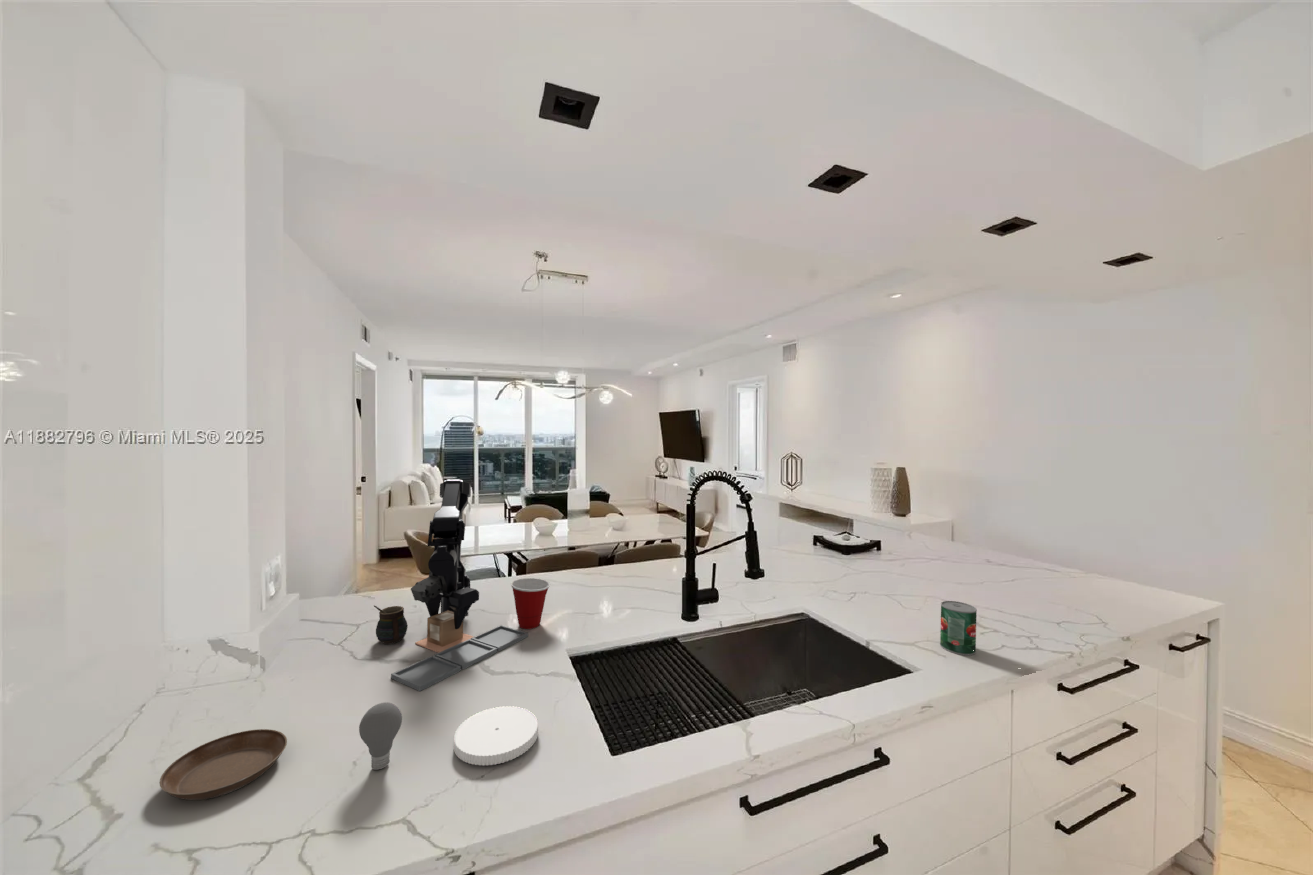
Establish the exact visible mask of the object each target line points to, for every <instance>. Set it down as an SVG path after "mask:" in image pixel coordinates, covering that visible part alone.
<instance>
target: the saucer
mask: <svg viewBox="0 0 1313 875" xmlns="http://www.w3.org/2000/svg"><path fill="white" fill-rule="evenodd" d="M287 744H288V739H287V736H286V735H285V734H284V732H282V731H279V730H276V729H267V728H266V729H265V728H261V729H260V728H259V729H249V730H244V731H243V730H242V731H239V732H235V733H232V734H227V735H224V736H221V737H219V738H215V739H213V740H211V741H208V742H205V743H203V744H201V745H199V746H197V747H195V748H193V749H191V750H190V751H188V752H187V753H185V754H183V755H181V756H180V757H178V758H177V759H176V760H175V761H173V762H172V763H171V764H169V766H168V767H167V768H166V769H165V770H164V772H162V774H161V776H160V779H159V787H160V789H161V790H162V791H164V792H165V793H166V794H168V795H170V796H172V797H174V798H178V799H181V800H188V801H201V800H209V799H213V798H218V797H220V796H224V795H226V794H229V793H232V792H235V791H237V790H239V789H241V788H243V787H245V786H247V785H249V784H250V783H252V782H254V781H255V780H257V779H258V778H259V777H260V776H262V775H263V774H264V773H265V772H267V771H268V770H269V769H270V768H271V767H272V766H273V765H274V764H275V763H276V762H277V761H278V759H279V758H280V757H281V755H282V754H283V752H284V751H285V749H286V747H287Z"/></svg>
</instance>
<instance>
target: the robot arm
mask: <svg viewBox="0 0 1313 875" xmlns="http://www.w3.org/2000/svg"><path fill="white" fill-rule="evenodd" d="M471 492H472V487H471V483H469V482H466V481H463V479H460V478H459V479H458V478H457V479H446V480H444V481H443V482H441V483H440V484H439V497H440V498H441V499H442V501H441V506H440V509H438V510H437V511H435V512H434V513H433V514H434V515H433V518H432V520H430V521H429V526H428V527H429V529H428V536H427V537H428V538H427V547H433V553H432V554H431V555H430V558H429V560H428V570H429V571H428V572H429V573H428V577H425V578H423V579H422V580H420V581H417V582H415V584H414V585H413V586H411V588H410V591H411V594H412V596H413V599H414V601H416V602H417V601H419V602H421V603H425V605H426V608H427V609H426V610H427V611H428V614H429V617H431V616H434V615H437V614H439V611H440V613H442V612H445V611H448V610H449V611H452V612H454V625H455V629H459V628H460V626H461V624H462V622H463V623H464V620H465V617H466V616H468V614H469V610H470V608H471V607H472V605H474V604H476V602H477V601H480V591H479V590H478V589H476V588H473V587H472V588H471V579H470V578H469V576H468V574H466V571H467V570H466V568H465V566H464V564H463V563H462V561H461V557H462V556H461V554H462V541H465V533H466V531H465V530H466V523H465V522H464V519H463V512H464V510H465V508H466V507H467V506H468V504H469V498H471Z"/></svg>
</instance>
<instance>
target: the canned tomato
mask: <svg viewBox="0 0 1313 875" xmlns="http://www.w3.org/2000/svg"><path fill="white" fill-rule="evenodd" d="M977 612H978V610H977V607H975V606H974V605H971V604H969V603H966V602H965V603H964V602H961V601H957V600H956V601H955V600H944V601H941V603H940V631H939V632H940V637H939V640H940V641H939V645H940V647H941V648H942V649H944V650H945V651H947V652H950V653H953V654H956V655H960V656H973V655H975V654H976V653H977V651H976V649H977V644H976V643H977ZM973 650H974V651H973Z"/></svg>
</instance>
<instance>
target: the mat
mask: <svg viewBox="0 0 1313 875" xmlns="http://www.w3.org/2000/svg"><path fill="white" fill-rule="evenodd" d="M473 637H474V636H473V635H471V634H466V633H464V632H463V638H462V639H459V640H457V641H455V642H452V643H450V644H448V645H445V646H443V647H442V646H439V645H436V644H433V643H431V642H428V641H427V637H426V638H425V637H424V638H423V639H420V640H418V641H415V642H414V644H415V645H417V646H420V647H422V648H425V649H428V650H429V651H432V652H435V653H439V652H441V651H443V650H446V649H448V648H450V647H452V646H455V645H457V644H459V643H461V642H464V641H466V640H468V639H471V638H473Z"/></svg>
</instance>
